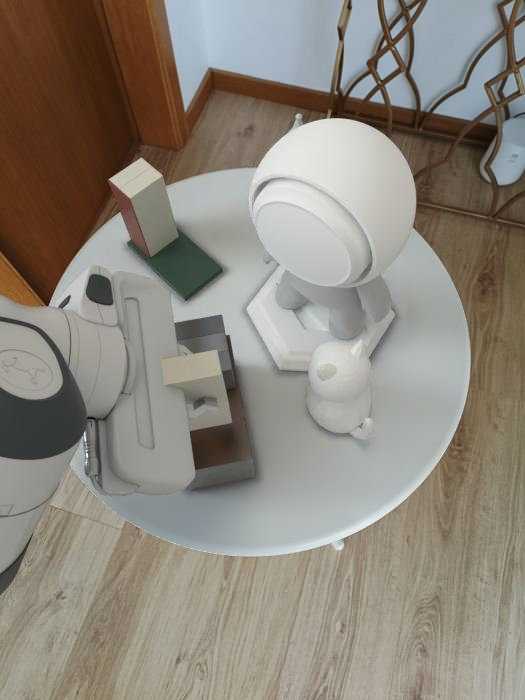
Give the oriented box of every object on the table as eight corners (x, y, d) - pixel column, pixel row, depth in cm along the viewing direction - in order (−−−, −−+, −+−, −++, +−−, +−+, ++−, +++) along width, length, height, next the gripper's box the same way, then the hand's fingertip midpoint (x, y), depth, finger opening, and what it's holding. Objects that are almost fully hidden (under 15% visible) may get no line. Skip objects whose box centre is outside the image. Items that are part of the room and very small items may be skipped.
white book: (177, 433, 59) (151, 387, 46) (174, 412, 60) (148, 361, 48) (232, 423, 60) (221, 374, 47) (228, 402, 61) (217, 349, 48)
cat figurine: (338, 361, 80) (351, 311, 66) (392, 428, 75) (418, 389, 61) (288, 393, 78) (291, 347, 64) (340, 464, 73) (355, 431, 59)
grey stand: (189, 490, 72) (168, 460, 57) (174, 376, 79) (152, 324, 65) (255, 477, 72) (250, 444, 58) (234, 365, 80) (225, 311, 65)
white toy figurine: (225, 337, 82) (193, 168, 50) (304, 235, 90) (319, 34, 58) (338, 405, 77) (382, 264, 45) (411, 290, 85) (492, 102, 53)
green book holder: (185, 301, 85) (168, 242, 71) (127, 246, 90) (101, 182, 76) (223, 271, 87) (213, 209, 74) (164, 219, 92) (145, 152, 78)
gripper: (108, 484, 37) (251, 484, 47) (91, 247, 46) (215, 288, 55) (66, 507, 41) (206, 503, 50) (58, 284, 50) (179, 317, 59)
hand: (211, 389), depth 53 cm, fingers closed on white book, 2 cm apart
